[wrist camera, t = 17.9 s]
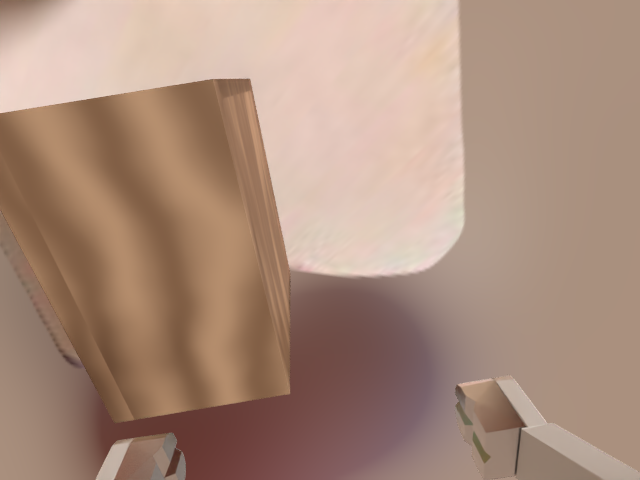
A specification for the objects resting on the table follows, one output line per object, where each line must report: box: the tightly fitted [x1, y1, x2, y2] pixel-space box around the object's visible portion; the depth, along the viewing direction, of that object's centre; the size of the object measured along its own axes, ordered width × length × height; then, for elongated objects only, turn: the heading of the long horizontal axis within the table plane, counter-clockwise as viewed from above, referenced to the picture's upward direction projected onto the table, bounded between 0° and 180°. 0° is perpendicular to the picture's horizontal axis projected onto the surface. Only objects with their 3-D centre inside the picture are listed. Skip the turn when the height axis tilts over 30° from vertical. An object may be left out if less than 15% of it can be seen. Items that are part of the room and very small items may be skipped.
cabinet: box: [0, 79, 290, 423], centre depth 37 cm, size 16×26×22 cm, turn 9°
